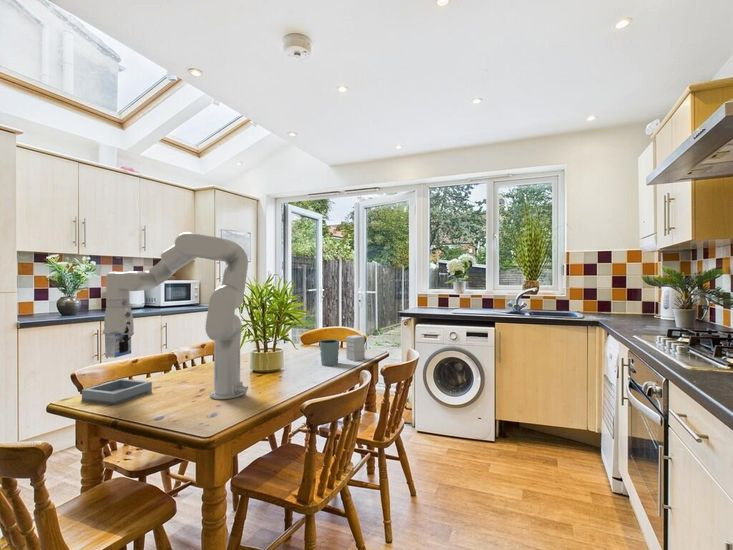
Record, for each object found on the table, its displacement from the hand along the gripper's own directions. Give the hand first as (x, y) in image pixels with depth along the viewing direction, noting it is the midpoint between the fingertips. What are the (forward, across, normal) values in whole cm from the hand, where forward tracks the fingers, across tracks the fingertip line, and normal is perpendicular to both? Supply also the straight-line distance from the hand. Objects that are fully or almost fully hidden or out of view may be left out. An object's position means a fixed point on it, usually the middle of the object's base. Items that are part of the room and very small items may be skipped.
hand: (118, 351), depth 148 cm
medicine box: (+2, 0, 0) cm, 2 cm away
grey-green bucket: (+18, -57, -72) cm, 93 cm away
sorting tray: (+17, 0, 0) cm, 17 cm away
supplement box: (+18, -66, -87) cm, 110 cm away
